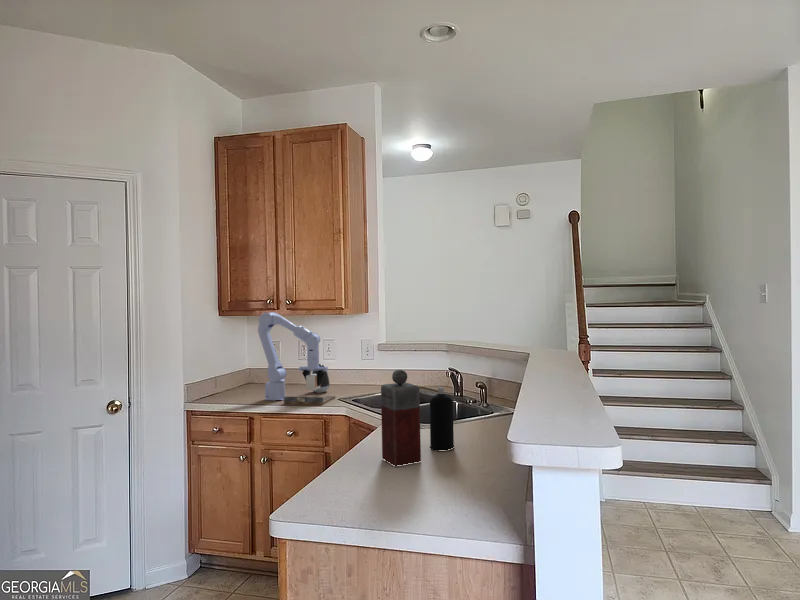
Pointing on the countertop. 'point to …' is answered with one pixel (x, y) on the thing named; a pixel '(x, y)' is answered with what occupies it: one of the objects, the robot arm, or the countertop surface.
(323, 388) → the black rounded upright piece
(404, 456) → the pepper mill
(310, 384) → the cream box
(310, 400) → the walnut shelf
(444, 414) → the aerosol can
